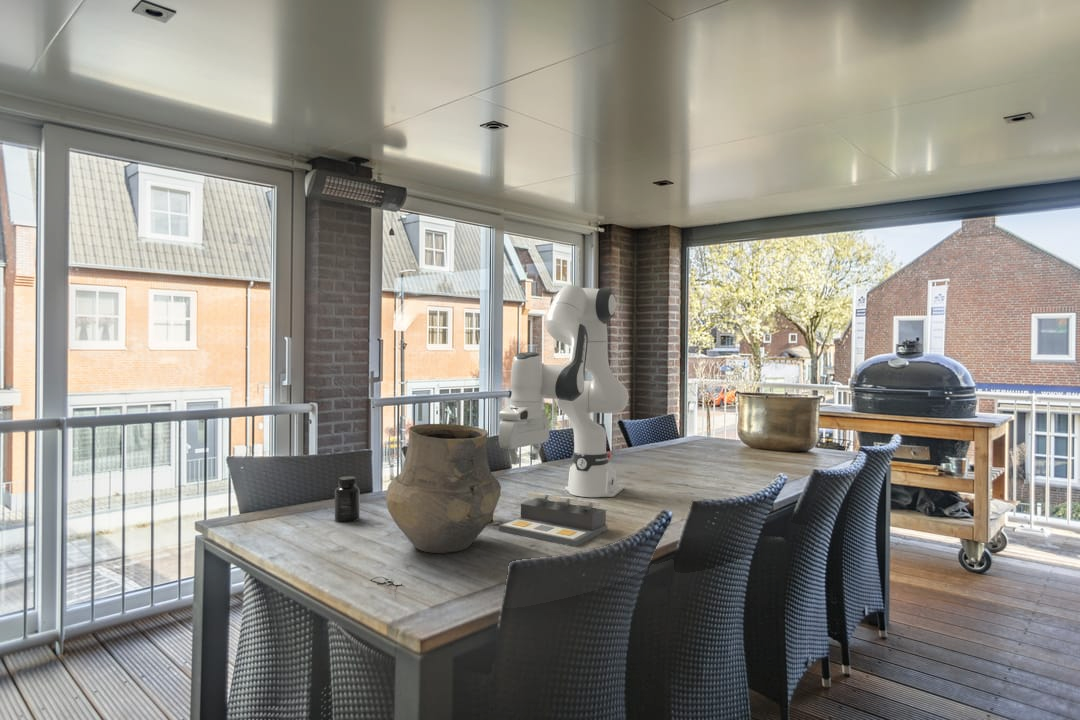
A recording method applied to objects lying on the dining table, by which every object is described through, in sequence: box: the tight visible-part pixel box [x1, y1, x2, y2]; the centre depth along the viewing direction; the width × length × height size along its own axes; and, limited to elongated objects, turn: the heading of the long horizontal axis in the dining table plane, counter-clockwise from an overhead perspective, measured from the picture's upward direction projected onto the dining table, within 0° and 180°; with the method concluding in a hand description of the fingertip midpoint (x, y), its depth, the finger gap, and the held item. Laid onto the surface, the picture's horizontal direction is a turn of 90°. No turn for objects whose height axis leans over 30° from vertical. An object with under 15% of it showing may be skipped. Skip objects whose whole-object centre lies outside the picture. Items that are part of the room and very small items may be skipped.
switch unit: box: [498, 499, 608, 548], centre depth 175 cm, size 18×24×6 cm
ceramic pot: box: [385, 423, 502, 554], centre depth 159 cm, size 28×28×30 cm
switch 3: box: [570, 499, 601, 510], centre depth 175 cm, size 11×4×2 cm, turn 148°
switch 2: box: [548, 495, 579, 507], centre depth 179 cm, size 11×4×2 cm, turn 148°
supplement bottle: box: [334, 475, 361, 523], centre depth 182 cm, size 7×7×12 cm
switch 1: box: [526, 492, 558, 503], centre depth 182 cm, size 11×4×2 cm, turn 148°
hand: (524, 461), depth 174 cm, fingers open, 8 cm apart
